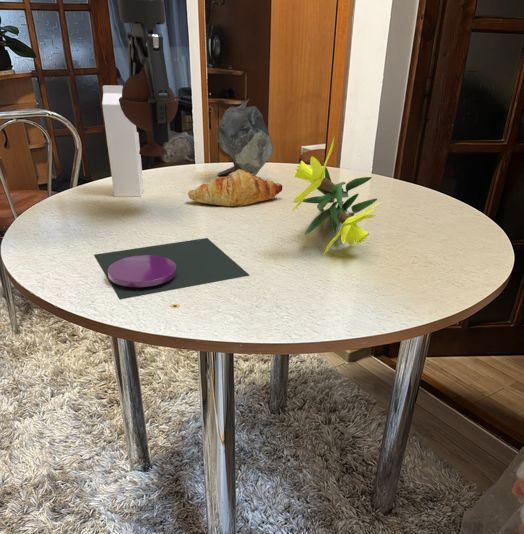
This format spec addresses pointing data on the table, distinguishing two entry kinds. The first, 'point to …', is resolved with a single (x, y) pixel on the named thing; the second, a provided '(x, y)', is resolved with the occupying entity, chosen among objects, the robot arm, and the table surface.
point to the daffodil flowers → (332, 191)
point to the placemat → (178, 266)
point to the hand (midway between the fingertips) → (151, 136)
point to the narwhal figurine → (244, 139)
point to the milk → (122, 146)
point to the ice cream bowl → (144, 109)
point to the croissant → (235, 190)
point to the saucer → (142, 271)
